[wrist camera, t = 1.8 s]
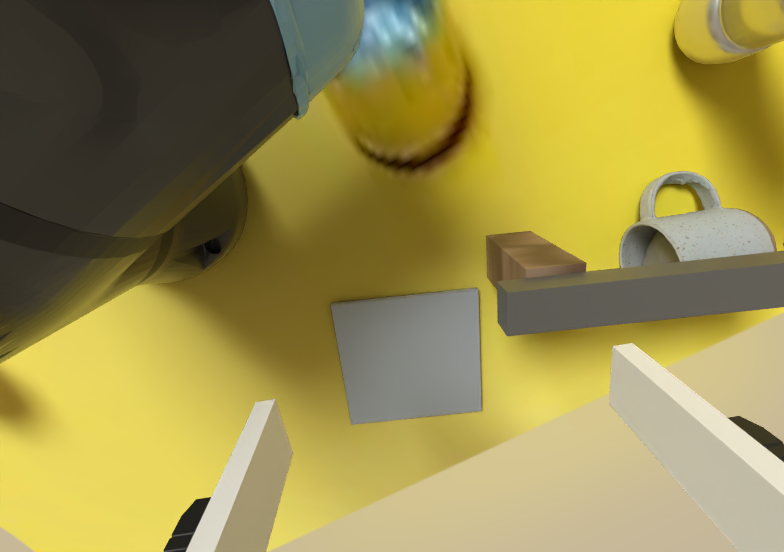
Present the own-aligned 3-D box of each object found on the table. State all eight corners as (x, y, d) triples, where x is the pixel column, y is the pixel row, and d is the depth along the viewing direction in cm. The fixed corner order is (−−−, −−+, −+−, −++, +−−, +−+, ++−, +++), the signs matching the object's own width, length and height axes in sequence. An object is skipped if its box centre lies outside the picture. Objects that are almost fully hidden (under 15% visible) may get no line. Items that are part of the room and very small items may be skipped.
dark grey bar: (497, 322, 25) (506, 336, 23) (497, 281, 24) (507, 292, 22) (819, 287, 25) (855, 299, 23) (832, 245, 24) (870, 253, 22)
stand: (487, 276, 35) (525, 323, 26) (486, 235, 33) (526, 269, 24) (826, 240, 34) (986, 274, 25) (838, 197, 33) (1013, 217, 24)
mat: (352, 420, 40) (351, 424, 39) (331, 303, 35) (330, 305, 35) (480, 407, 40) (481, 410, 39) (476, 287, 35) (478, 290, 35)
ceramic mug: (704, 273, 35) (787, 304, 28) (618, 291, 36) (679, 327, 28) (709, 160, 32) (805, 162, 25) (615, 182, 32) (682, 191, 25)
